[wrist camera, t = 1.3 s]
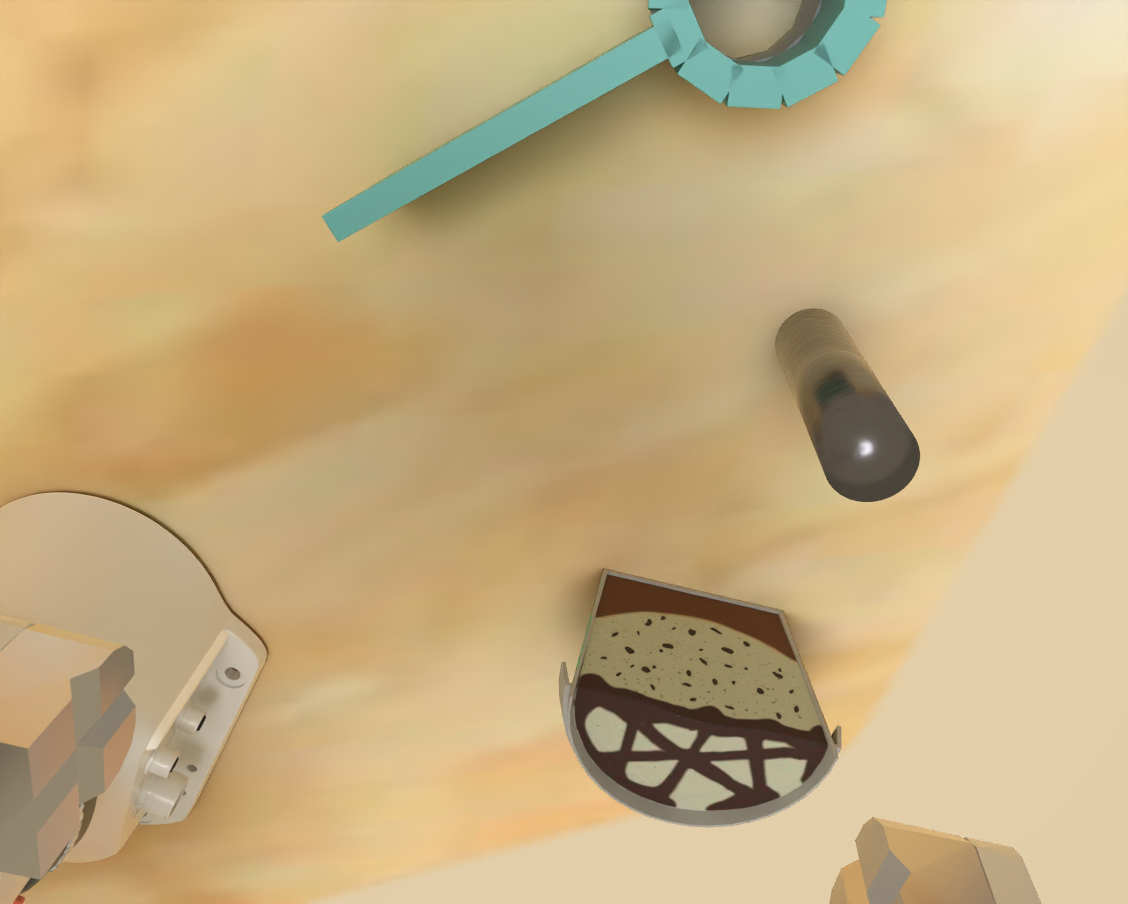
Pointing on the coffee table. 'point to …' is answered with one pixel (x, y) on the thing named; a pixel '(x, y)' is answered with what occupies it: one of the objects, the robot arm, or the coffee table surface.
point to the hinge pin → (845, 409)
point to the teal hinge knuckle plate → (670, 37)
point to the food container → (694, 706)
